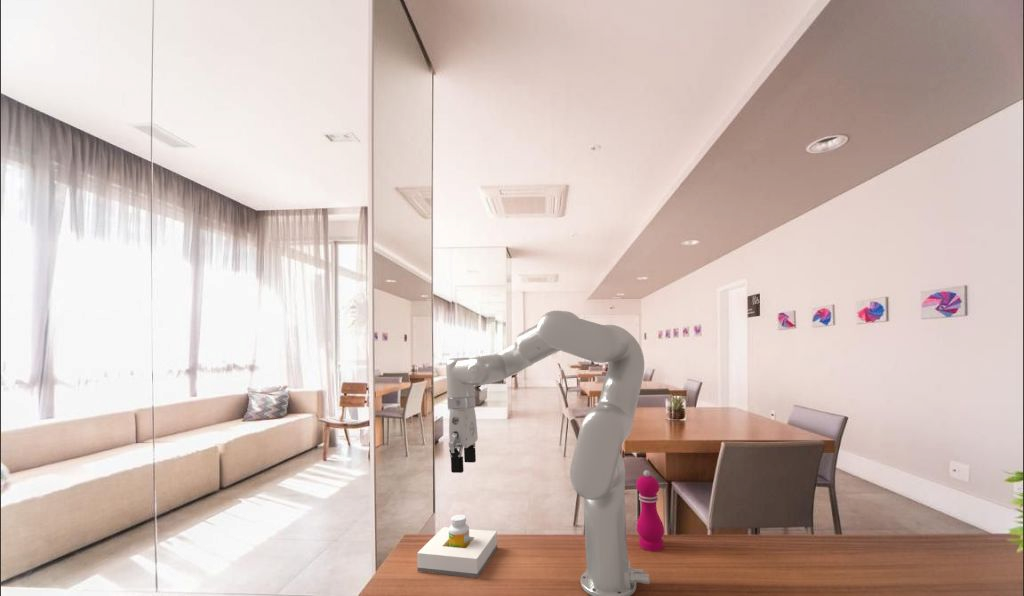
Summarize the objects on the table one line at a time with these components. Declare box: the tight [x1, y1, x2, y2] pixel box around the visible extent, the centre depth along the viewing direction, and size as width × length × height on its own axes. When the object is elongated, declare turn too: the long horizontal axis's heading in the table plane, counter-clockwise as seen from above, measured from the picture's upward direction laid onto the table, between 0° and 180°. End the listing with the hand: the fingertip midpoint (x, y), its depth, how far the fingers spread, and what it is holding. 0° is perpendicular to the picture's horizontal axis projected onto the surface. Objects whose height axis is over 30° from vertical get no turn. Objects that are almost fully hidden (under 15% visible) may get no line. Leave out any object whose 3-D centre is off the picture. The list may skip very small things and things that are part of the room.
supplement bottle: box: [449, 514, 470, 548], centre depth 121 cm, size 5×5×10 cm
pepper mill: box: [635, 469, 665, 552], centre depth 125 cm, size 7×7×20 cm
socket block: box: [416, 526, 498, 579], centre depth 121 cm, size 16×16×4 cm
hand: (464, 467), depth 124 cm, fingers open, 9 cm apart
